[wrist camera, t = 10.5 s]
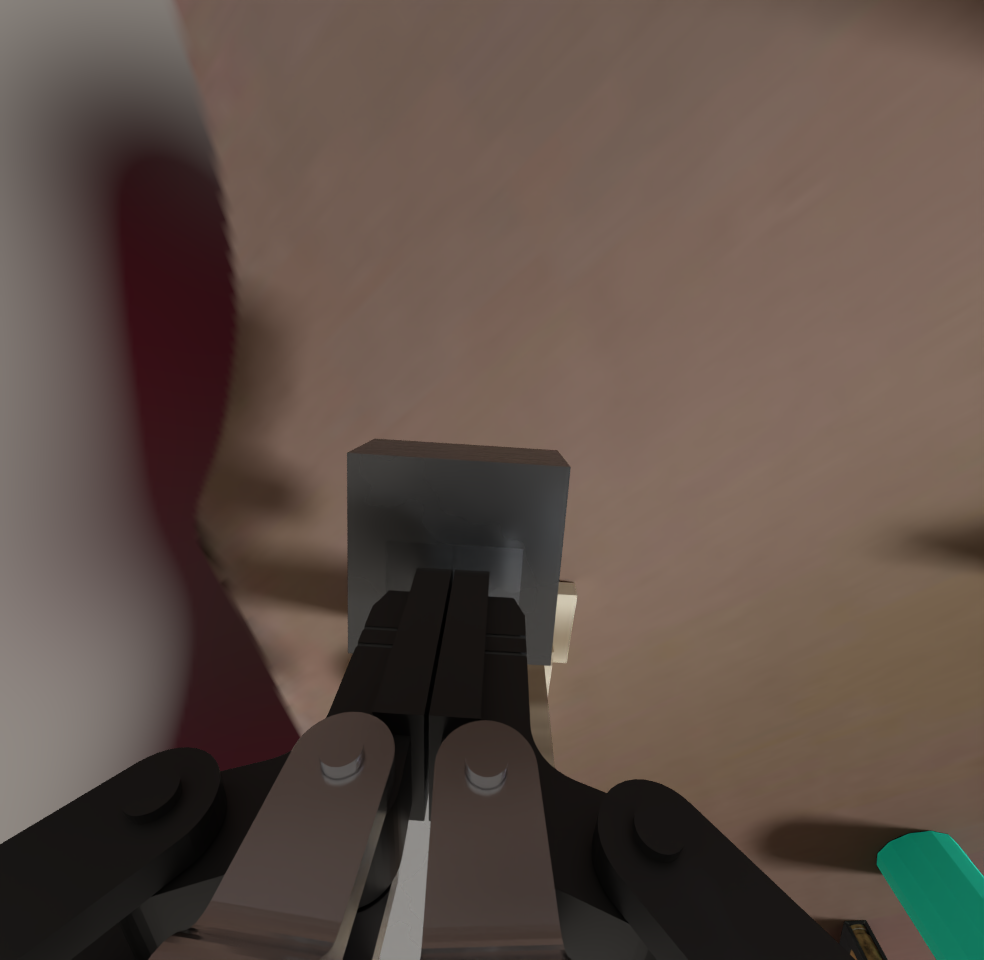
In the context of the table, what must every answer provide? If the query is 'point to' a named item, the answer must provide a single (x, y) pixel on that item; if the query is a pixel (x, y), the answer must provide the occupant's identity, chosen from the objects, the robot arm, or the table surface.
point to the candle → (938, 892)
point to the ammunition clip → (860, 941)
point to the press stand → (542, 674)
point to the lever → (452, 567)
